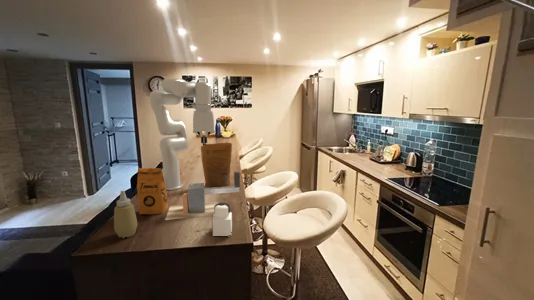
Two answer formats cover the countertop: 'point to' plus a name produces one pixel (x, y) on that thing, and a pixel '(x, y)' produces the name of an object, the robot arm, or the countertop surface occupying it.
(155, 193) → the coffee package
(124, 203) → the squeeze bottle
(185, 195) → the collar
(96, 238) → the countertop surface
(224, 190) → the l-shaped metal bar
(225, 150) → the pancake mix bag
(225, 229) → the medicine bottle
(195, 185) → the metal block
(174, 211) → the board
